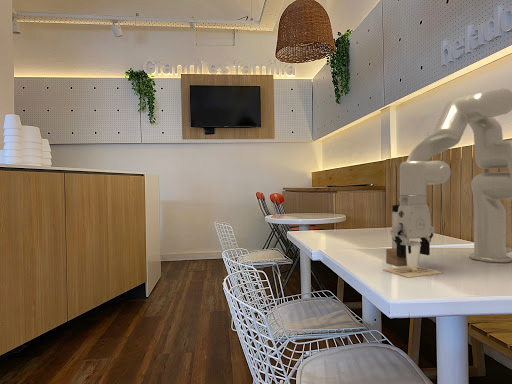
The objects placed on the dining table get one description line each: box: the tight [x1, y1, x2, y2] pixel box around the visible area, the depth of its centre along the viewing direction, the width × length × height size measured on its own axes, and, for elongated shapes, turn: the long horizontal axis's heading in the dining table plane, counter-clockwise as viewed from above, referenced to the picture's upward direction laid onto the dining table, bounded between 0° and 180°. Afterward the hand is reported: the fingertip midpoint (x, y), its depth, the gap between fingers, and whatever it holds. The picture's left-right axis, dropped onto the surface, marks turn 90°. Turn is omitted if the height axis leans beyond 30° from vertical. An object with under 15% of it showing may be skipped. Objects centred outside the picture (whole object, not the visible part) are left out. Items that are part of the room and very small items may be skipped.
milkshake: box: [405, 240, 421, 272], centre depth 105 cm, size 5×5×10 cm
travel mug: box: [391, 204, 410, 249], centre depth 133 cm, size 6×7×20 cm
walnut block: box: [385, 247, 407, 267], centre depth 115 cm, size 5×5×5 cm
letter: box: [382, 265, 444, 279], centre depth 104 cm, size 14×10×1 cm
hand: (413, 255), depth 105 cm, fingers open, 9 cm apart
